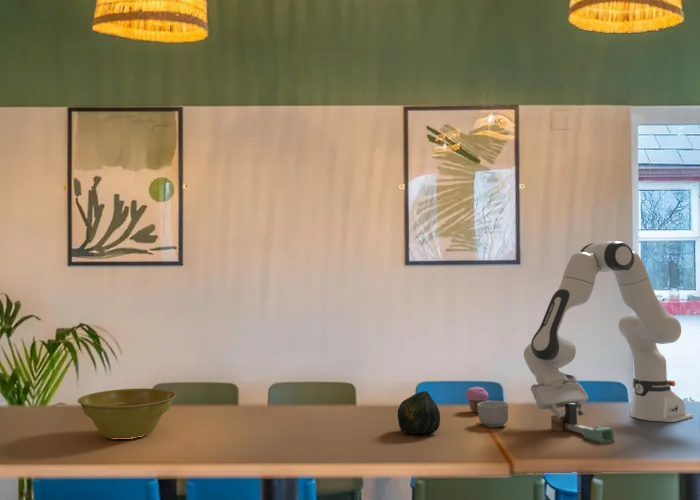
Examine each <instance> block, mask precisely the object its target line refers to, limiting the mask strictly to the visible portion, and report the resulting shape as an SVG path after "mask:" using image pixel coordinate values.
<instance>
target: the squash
mask: <svg viewBox="0 0 700 500" xmlns="http://www.w3.org/2000/svg"><path fill="white" fill-rule="evenodd" d="M440 413H441V412H440V409H439V406H438V405H437V403H436V402H435V401H434V399H433V398H432V396H431V394H430V393H429V392H428V391H427V390H423V391H420V392H419V391H418V392H417V393H415V394H413V395H410V397H408V398H406V399H404V400H403V401H402V402H401V403H400V405H399V407H398V409H397V420H398V426H399V429H400V431H402V433H404V434H406V435H412V436H413V435H417V434H428V433H430V434H433V433H435V432H437V431H438V429H439V427H440V424H441V414H440Z"/></svg>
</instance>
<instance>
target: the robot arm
mask: <svg viewBox="0 0 700 500" xmlns="http://www.w3.org/2000/svg"><path fill="white" fill-rule="evenodd" d="M599 272H605V273H606V272H613V274H614V275H615V280H616V283H617V285H618V288H619V292H620V295H621V298H622V301H623V303H624V304H625V306H627V307H628V308H630V309H631V310H632V311H633V312H630V313H626V314H624V315H623V316H622V317H621V318H620V319H619V323H618V329H619V330H618V331H619V332H620V334H621V335H622V336H623V338H625V340H626V341H627V343H628V345H629V348H630V349H629V350H630V351H631V354H632V360H633V376H634V378H633V379H632V387H633V389H634V390H633V392H632V401H631V402H632V404H631V409H630V417H632V418H635V419H639V420H642V421H649V422H650V421H651V422H665V423H675V422H679V421H683V420H688V419H691V418H693V414H692V413H690V412H686V405H685V402H684V400H683V399H682V398H681V397H679V396H678V395H677V394H676V393H674V392H673V391H672V389H671V387H675V386H677V385H676V381H675V380H668V378H667V377H668V375H667V359H666V358H665V356H664V355H663V354H662V353H661V352H660V351H659V349H658V346H657V344H658V345H666V344H672V343H675V342H677V341H678V340H679V338H680V337H681V334H682V325H681V323H680V321H679V320H678V319H677V318H676V317H674V316H673V315H672V314H671V313H670V312H668V311H667V309H665V307H664V306H663V304H662V303H661V301H660V300H659V298H658V297H657V295H656V292H655V290H654V289H653V286H652V283H651V280H650V276H649V273H648V271H647V268H646V266H645V264H644V262H643V259H642V258H641V257H640V255H639V254H638V253H637V252H635V251H633V250H632V248H631V247H630V245H628V244H627V243H625V242H623V241H616V240H615V241H600V242H595V243H593V242H592V243H588V244H587V245H585V246H583V248H581V250H580V251H578V252H574V253H573V254H572V255H571V257H570V258H569V260H568V262H567V265H566V267H565V269H564V272H563V274H562V275H563V276H562V279H561V282H560V284H559V286H558V289H557V290H556V291H555V292H554V294H553V295H552V297H551V299H550V301H549V303H548V307H547V309H546V311H545V313H544V316H543V319H542V322H541V323H540V326H539V328H538V329H537V330H536V332H535V334H534V335H533V337H532V339H531V342H530V343H529V344H528V345H527V346H526V347H525V349H524V350H523V359H524V361H525V364H526V365H527V368H528V369H529V371H530V372H531V374H532V375H533V376H534V377H535V381H536V383H537V384H532V385H531V386H530V391H531V393H532V394H533V398H534V400H535V402H536V405H537V407H538V408H539V409H541V410H550V411H551V412H552V413H553V414H554V415H557V417H558V418H563V417H564V414H565V413H564V412H563V410H562V411H561V410H560V409H558V408H565V403H575V404H576V406H577V409H578V410H577V415H578V416H579V417H583V416H585V414H586V411H585V410H584V405H585V404H586V403H587V402H588V400H589V396H588V394H587V392H586V390H585V389H584V387H583V386H582V385H581V384H580V383H579V382H577V378H576V376H575V375H572V374H568V373H564V372H562V371H560V370H559V369H561V368H563V367H565V366H566V365H568V364H570V363H572V361H573V360H574V359H575V357H576V350H577V349H576V346H575V345H574V343H573V342H572V341H571V340H569V339H567V338H565V337H563V336H560V335H559V330H560V328H561V325H562V322H563V319H564V317H565V314H566V312H567V311H568V310H569V309H571V308H574V307H579V306H582V305H584V304H586V303H587V302H588V301H589V299H590V297H591V295H592V293H593V291H594V285H595V281H596V278H597V277H596V276H597V274H598V273H599Z"/></svg>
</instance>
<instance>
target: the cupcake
mask: <svg viewBox="0 0 700 500" xmlns="http://www.w3.org/2000/svg"><path fill="white" fill-rule="evenodd" d="M465 398H466V399H467V400H468V402H469V403H468V404H469V410H470V411H471V412H472V413H475V414H478V406H477V404H478V403H480V402H484V401H488V400H489V393H488V391H487V390H486V389H485V388H484V387H480V386H472V387H469V388H468V389H467V390H466V393H465Z"/></svg>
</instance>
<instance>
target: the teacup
mask: <svg viewBox="0 0 700 500" xmlns="http://www.w3.org/2000/svg"><path fill="white" fill-rule="evenodd" d="M477 406H478V413H477V414H478V419H479V422H480V423H481V424H482V425H484V426H485V427H486V428H501V427H504V426H505V424H507V423H508V420H509V403H508V402H506V401H502V400H489V399H487V400H486V401H484V402H480V403H478V404H477Z"/></svg>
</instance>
